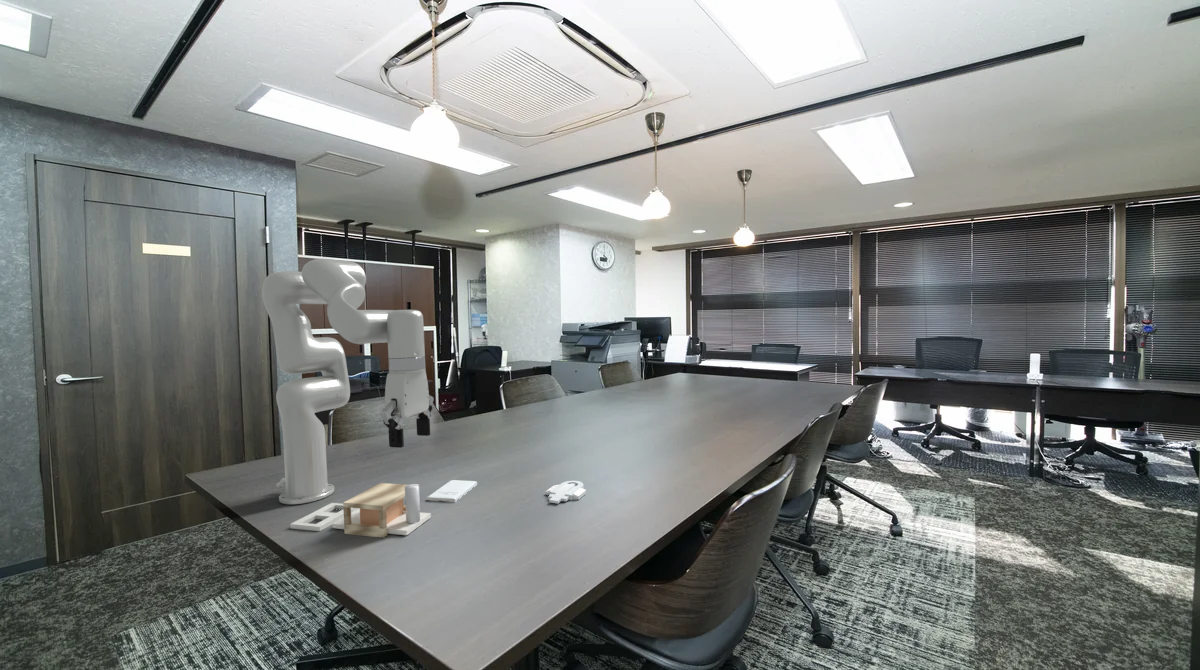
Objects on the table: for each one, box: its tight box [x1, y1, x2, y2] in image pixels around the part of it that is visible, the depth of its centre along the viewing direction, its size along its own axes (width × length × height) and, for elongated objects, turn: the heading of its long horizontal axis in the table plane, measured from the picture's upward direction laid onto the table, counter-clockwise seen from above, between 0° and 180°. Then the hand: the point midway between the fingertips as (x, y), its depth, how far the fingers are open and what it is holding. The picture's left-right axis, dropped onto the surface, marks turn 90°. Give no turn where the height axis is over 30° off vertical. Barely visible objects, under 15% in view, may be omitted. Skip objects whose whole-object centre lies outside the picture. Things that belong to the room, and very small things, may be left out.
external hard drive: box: [426, 479, 478, 503], centre depth 125 cm, size 2×8×12 cm
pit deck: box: [289, 502, 359, 532], centre depth 110 cm, size 8×12×1 cm, turn 167°
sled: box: [332, 483, 432, 536], centre depth 106 cm, size 19×9×9 cm, turn 77°
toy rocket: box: [545, 480, 587, 504], centre depth 122 cm, size 16×10×2 cm, turn 157°
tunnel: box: [342, 482, 408, 539], centre depth 106 cm, size 10×12×7 cm
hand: (410, 440), depth 104 cm, fingers open, 9 cm apart
